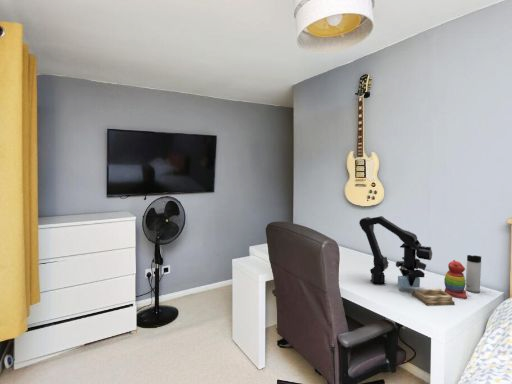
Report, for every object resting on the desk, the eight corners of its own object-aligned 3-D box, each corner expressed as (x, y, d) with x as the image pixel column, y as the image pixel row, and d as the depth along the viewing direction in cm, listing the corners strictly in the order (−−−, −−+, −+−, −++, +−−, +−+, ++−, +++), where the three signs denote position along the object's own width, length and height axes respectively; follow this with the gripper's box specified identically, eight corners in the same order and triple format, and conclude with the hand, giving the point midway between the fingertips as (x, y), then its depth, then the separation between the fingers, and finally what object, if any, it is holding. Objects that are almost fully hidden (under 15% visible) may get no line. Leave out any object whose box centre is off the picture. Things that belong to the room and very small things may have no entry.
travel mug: (467, 292, 158) (469, 256, 156) (464, 287, 164) (465, 252, 162) (481, 294, 155) (483, 257, 154) (477, 289, 161) (479, 253, 160)
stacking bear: (467, 299, 149) (469, 265, 147) (444, 295, 154) (445, 262, 153) (465, 292, 158) (467, 260, 157) (443, 288, 163) (444, 257, 162)
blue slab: (401, 287, 159) (401, 276, 159) (397, 284, 163) (398, 273, 163) (419, 287, 159) (420, 276, 159) (415, 284, 163) (416, 273, 163)
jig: (426, 305, 144) (426, 298, 143) (412, 295, 156) (413, 288, 155) (454, 304, 144) (454, 297, 144) (438, 294, 156) (438, 287, 156)
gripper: (435, 261, 151) (434, 290, 152) (414, 251, 169) (413, 277, 171) (413, 262, 150) (412, 291, 152) (395, 251, 169) (394, 277, 170)
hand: (408, 284), depth 161 cm, fingers closed on blue slab, 4 cm apart
